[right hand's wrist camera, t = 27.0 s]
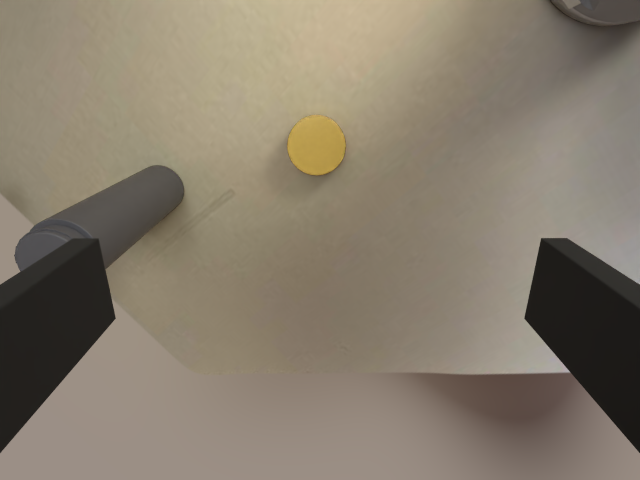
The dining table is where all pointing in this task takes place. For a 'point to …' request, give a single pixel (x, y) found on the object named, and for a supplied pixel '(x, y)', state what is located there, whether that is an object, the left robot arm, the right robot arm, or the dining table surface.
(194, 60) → the dining table surface
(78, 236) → the dark grey cylinder
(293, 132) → the lid
